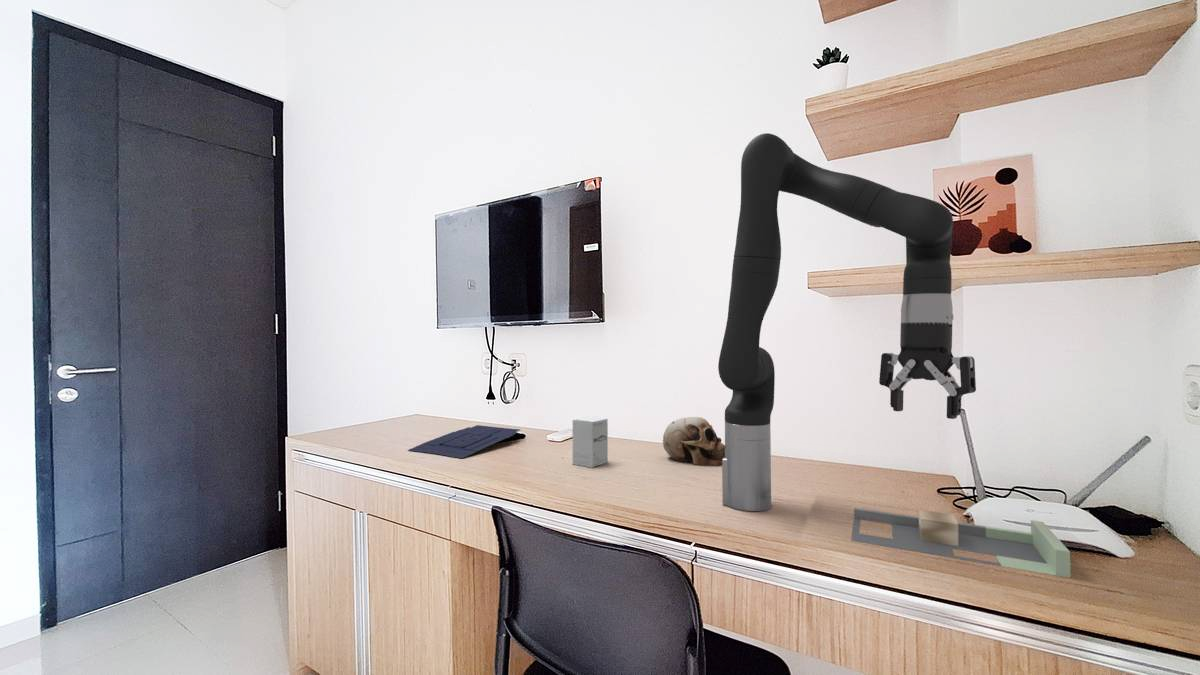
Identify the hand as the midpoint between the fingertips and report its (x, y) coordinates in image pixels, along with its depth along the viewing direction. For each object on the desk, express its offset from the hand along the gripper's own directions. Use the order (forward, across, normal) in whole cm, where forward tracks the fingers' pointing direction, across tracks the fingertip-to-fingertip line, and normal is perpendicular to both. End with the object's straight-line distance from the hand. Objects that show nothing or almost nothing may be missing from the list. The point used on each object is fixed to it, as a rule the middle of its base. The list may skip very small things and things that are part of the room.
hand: (924, 414), depth 87 cm
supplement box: (+24, -77, -19) cm, 83 cm away
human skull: (+23, -63, +8) cm, 68 cm away
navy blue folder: (+25, -121, -39) cm, 129 cm away
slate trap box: (+21, +5, -3) cm, 22 cm away
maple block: (+20, +3, -2) cm, 20 cm away
